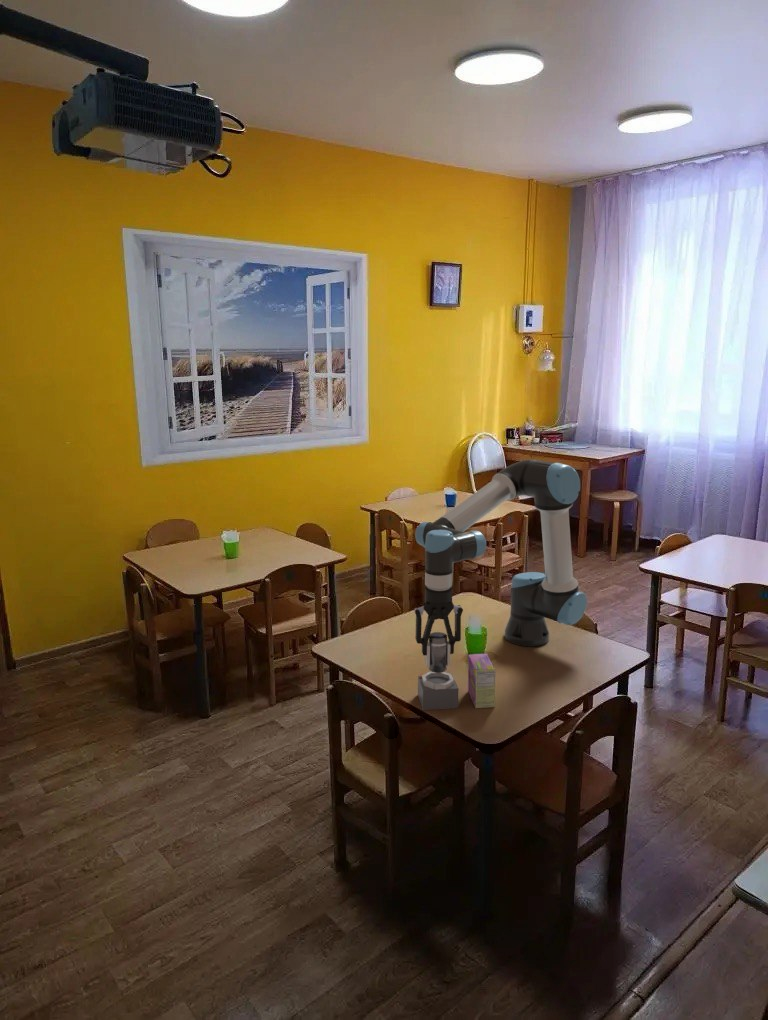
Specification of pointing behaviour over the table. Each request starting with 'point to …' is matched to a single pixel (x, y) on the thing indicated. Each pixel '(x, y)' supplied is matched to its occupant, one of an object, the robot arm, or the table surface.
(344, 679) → the table surface
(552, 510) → the robot arm
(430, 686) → the grey holed block
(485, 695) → the box
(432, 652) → the clear grey cylinder
